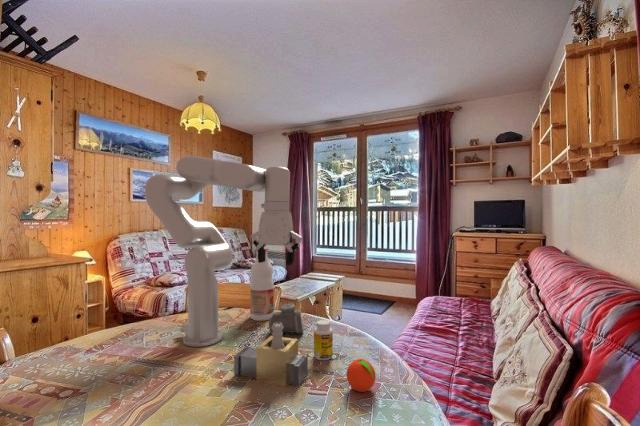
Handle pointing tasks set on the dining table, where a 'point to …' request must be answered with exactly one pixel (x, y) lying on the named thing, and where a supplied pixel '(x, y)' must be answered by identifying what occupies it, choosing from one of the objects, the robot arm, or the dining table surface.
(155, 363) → the dining table surface
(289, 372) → the valve body
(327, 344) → the supplement bottle
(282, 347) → the rook chess piece
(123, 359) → the dining table surface
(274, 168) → the robot arm
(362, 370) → the clementine
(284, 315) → the pipe fitting
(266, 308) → the fruit juice
